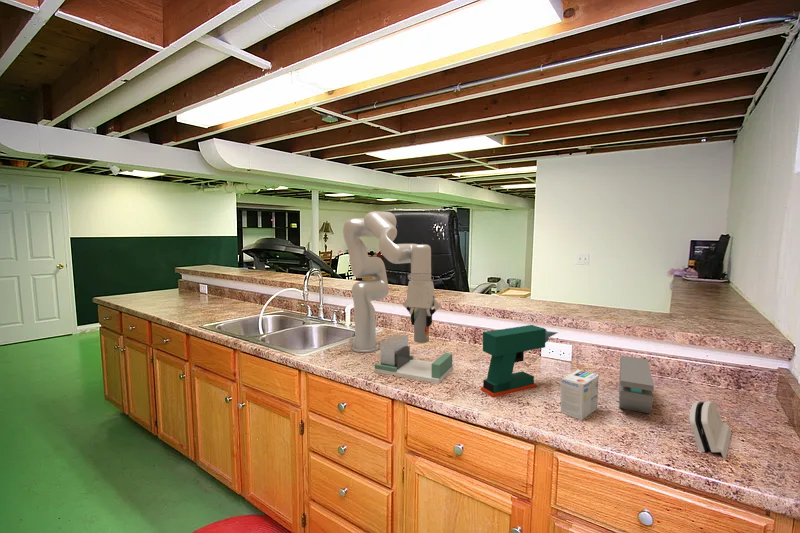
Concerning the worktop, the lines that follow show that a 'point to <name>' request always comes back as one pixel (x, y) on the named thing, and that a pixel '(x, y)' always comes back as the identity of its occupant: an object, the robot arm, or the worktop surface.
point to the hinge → (709, 428)
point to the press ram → (395, 351)
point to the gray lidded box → (635, 384)
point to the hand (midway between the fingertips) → (421, 324)
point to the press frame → (421, 369)
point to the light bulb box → (579, 394)
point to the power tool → (511, 357)
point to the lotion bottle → (420, 326)
